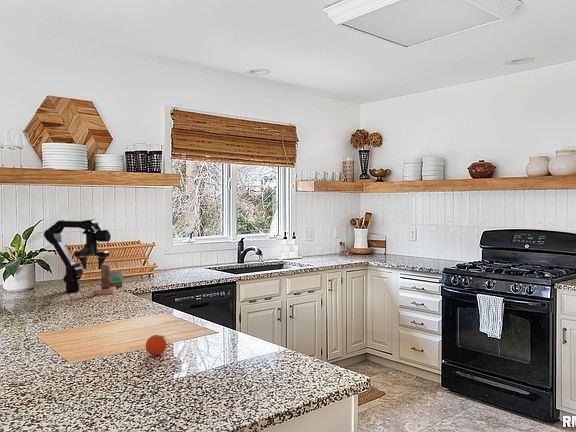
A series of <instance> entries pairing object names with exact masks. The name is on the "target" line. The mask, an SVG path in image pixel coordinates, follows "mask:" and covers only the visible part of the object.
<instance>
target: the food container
mask: <svg viewBox="0 0 576 432" xmlns="http://www.w3.org/2000/svg"><path fill="white" fill-rule="evenodd" d="M110 273H111V287H116V289H121V288H122V287H123V276H124V274H125V273H124V270H123V269H120V271H119V270H118V271H116V270H115V271H110Z"/></svg>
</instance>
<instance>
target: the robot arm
mask: <svg viewBox="0 0 576 432" xmlns="http://www.w3.org/2000/svg"><path fill="white" fill-rule="evenodd" d="M64 228H74V229H75V228H79V229H82V230H84V231H83V232H81V233H82V235H85V244H84V247H82V248H81V249H80V250H78V251H75V252H74V253H73V254H74V258H76V259H78V260H79V261H80V262H81V264H80V262H78V263H77V262H74V260H73V258H72V256H71V254H69V252H68V250H67V248H66V246H65V245H64V244H63V242H62V235H61V234H62V232H63V231H64ZM43 237H44V239H45V240H46V241H47V242H48V243H49V244H51V245H52V246H53V247H54V249H55V251H56V252H57V254H58V255H59V257H60V259H61V261H62V262H63V265H65V272H66V275H65V276H64V277H63V279H62V280H63V282H64V283H65V291H64V292H65V293H77V292H79V291H80V290H81V288H80V287H81V286H80V285H81V283H80V280H81V278H82V276H83V273H84V270H86V269H87V260H88V257H89V256H92V257H93V256H94V257H97V261H98V270H101V265H104V262H105V260H106V259H107V258H108V257H110V252H109V251H108V250H104V251H99V250H98V245H99V242H100V243H109V242H110V241H111V238H112V237H111V233H110V231H109V229H102V228H101V226H100V225H99V223H98V221H97V220H96V219H86V220H64V219H62V220H57V221H55V223H54V224H53V225H51V226H49V228H48V229H46V230H44V232H43ZM81 265H82V266H81ZM82 267H83V268H82Z"/></svg>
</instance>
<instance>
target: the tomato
mask: <svg viewBox="0 0 576 432" xmlns="http://www.w3.org/2000/svg"><path fill="white" fill-rule="evenodd" d="M166 340H167V341H168V342H170V341H169V339H168V338H167V337H166V336H164V335H161V334H160V335H159V334H154V335H150V337H148V339H147V340H146V342H145V350H146V352H147V353H148V354H149V355H151V356H153V355H158V354H160V355H162V354H163V353H164V352H165V351H166V349H167V341H166ZM158 356H159V355H158Z"/></svg>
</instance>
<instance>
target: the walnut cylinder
mask: <svg viewBox="0 0 576 432" xmlns="http://www.w3.org/2000/svg"><path fill="white" fill-rule="evenodd" d="M110 272H111V264H102V265H101V269H100V287H101V289H110V288H111V273H110Z"/></svg>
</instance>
